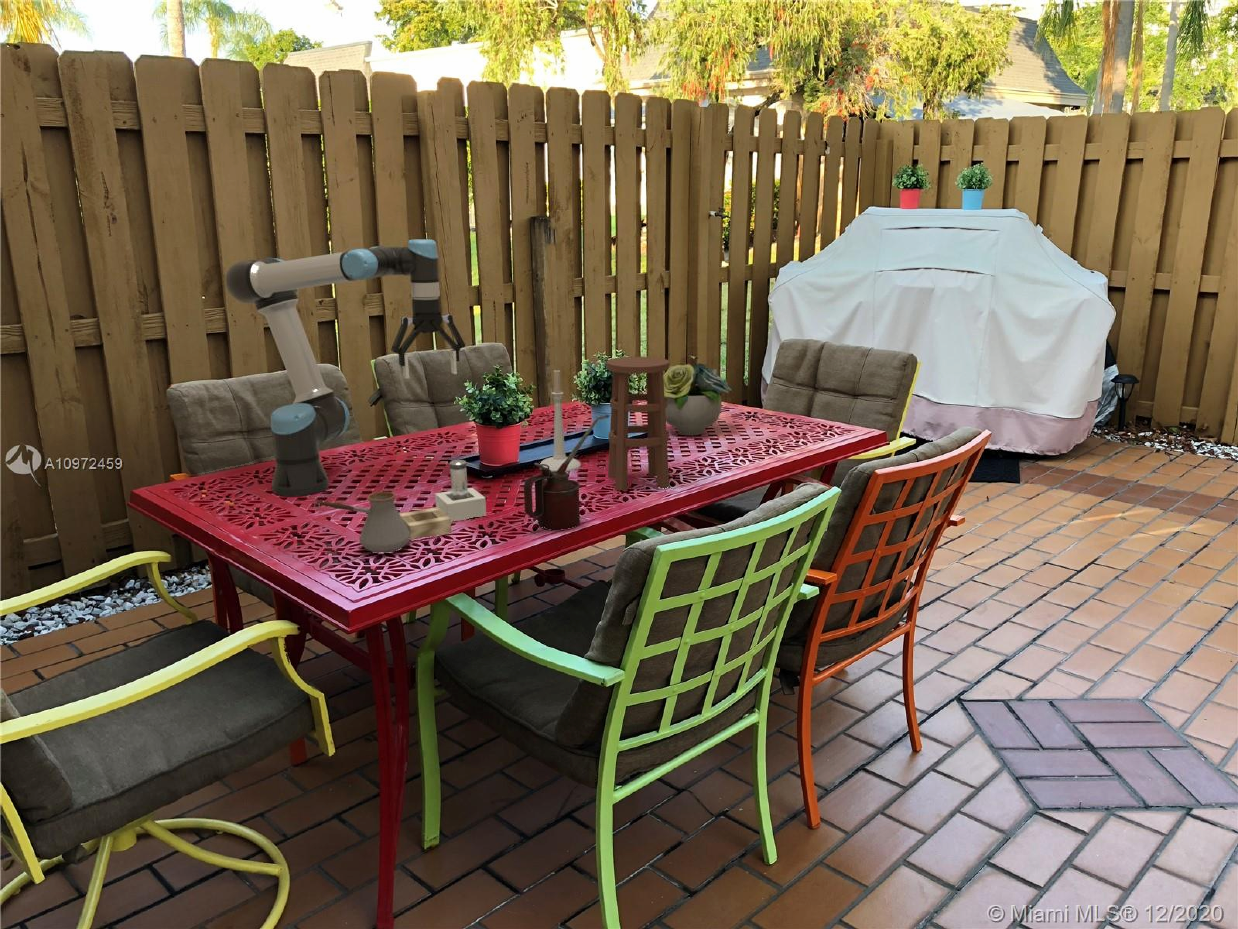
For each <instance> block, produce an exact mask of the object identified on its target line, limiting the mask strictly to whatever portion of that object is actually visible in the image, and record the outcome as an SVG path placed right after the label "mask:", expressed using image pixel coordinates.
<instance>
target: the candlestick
mask: <svg viewBox="0 0 1238 929" xmlns="http://www.w3.org/2000/svg"><path fill="white" fill-rule="evenodd" d="M561 380H562V378H561V370H558V369H556V370H553V389H554V390H553V392H551V395H553V396H552V397H553V400H554V420H553V421H554V425H553V426H554V427H553V429H554V430H553V456H551V457H547V458H544V459H543V460H542V461H540V462H541V463H540V462H539V463H540V464H546V465H548V466H549V469H550V470H551V471H552V472H553V471H557V470H558V469H559V467H560V466H561V465H562V463H564V462H565V460H566V459H567V458H568V456H567V455H566V448H565V447H566V446H565V435H564V422H563V411H562V403H561V402H562V399H563V394H564V392H563V391H562V388H561V387H562V386H561V384H562V383H561V382H562V381H561ZM581 465H582V464H581V462H580V461H579V460H578V459H576V458H574V457H573V459H572V460H571V462H570V463H569V465H568V467H567V469H566V471H565V472H567V473H568V472H572V470H573V471H576V470H579V468H581V467H582V466H581ZM580 466H581V467H580ZM543 467H546V468H548V467H547V466H543ZM575 469H576V470H575ZM539 470H541V468H539Z"/></svg>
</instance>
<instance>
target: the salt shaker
mask: <svg viewBox="0 0 1238 929" xmlns="http://www.w3.org/2000/svg"><path fill="white" fill-rule="evenodd" d="M449 468H450V469H449V470H450V471H449V472H450V481H451V482H450V483H451V491H452V501H455V500H461V499H467V498H468V489H467V488H468V477H467V476H468V475H467V461H466V460H464V459H455V460H454V459H453V460H451V461H449Z"/></svg>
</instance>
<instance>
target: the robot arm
mask: <svg viewBox="0 0 1238 929" xmlns="http://www.w3.org/2000/svg"><path fill="white" fill-rule="evenodd" d="M438 254H439V253H438V247H437V242H436V241H435V240H434V239H426V238H425V239H424V238H423V239H421V238H420V239H410V240H408V243H407V246H403V247H402V246H384V245H380V246H372V247H370V248H356V249H354V248H353V249H351V250H348V251H343V252H342V251H341V252H334V253H329V254H322V255H316V256H315V255H314V256H310V257H304V258H296V259H291V260H283V259H281V258H274V257H273V258H272V257H266V258H260V259H259V258H258V259H257V258H256V259H247V260H240V261H238V262H236V263H233V264H232V265H231V266H230V267H229V268H228V270H227V271H226V272H225V273H226V274H225V277H224V278H225V279H224V281H225V287H226V289H227V291H228V293H229V294H230V296H231V297H232V298H233V299H235V300H236V301H238V302H241V303H244V304H254V306H255V308H256V311H257V313H259V314H262V315H263V316H264V317H265V319H266V321H267V324H268V327H269V328H270V331H271V334H272V337H273V339H274V341H275V344H276V347H277V349H278V353H279V354H280V357H281V360H282V362H283V365H284V367H285V370H286V372H287V376H288V378H289V380H290V383H291V386H292V388H293V391H294V393H295V398H294V400H293V402H292V403H291V404H288V405H283V406H282V405H281V406H280V407H278V408H276V409H275V410H274V411H273V412H272V413H271V415H270V429H271V434H272V442H273V443H272V444H273V450H274V458H275V469H274V473H273V478H272V483H271V488H272V493H273V492H274V493H276V494H279V495H278V496H280V495H282V497H303V496H302V495H304V496H309V494H310V495H313V494H312V493H315V494H317V493H321V492H323V491H325V490H327V489H328V488H329V486H330V482H329V478H328V475H327V473H326V470H325V468H324V467H323V464H322V462H321V459H320V449H319V445H322V444H324V443H326V442H328V441H332V440H335V439H337V438H338V437H339V436H341V435H342V434H343V433H344V432H345V431H346V430H347V428H348V427H349V424H350V411H349V408H348V407H347V405H346V404H345V402H344V401H342V400H340V398H338V397H336V396H335V392H334V390H333V389H331V388H329V387H327V386H326V383H325V381H324V380H323V376H322V374H321V372H320V369H319V365H318V363H317V360H316V357H315V355H314V351H313V350H312V348H311V344H310V342H309V339H308V336H307V334H306V332H305V331H306V330H305V329H304V326H303V322H302V321H301V318H300V315H299V313H298V310H297V308H296V307H297V305H298V302H299V298H298V294H297V293H298V290H301V289H306V288H313V287H320V286H327V285H332V284H339V283H347V282H353V281H354V282H355V281H364V280H369V279H375V278H382V277H389V276H409V277H410V287H411V289H410V290H411V297H412V300H411V307H412V317H406V316H402V317H401V319H400V326H399V329H398V331H397V334H396V336H395V338H394V341H393V343H392V346H391V348H390V349H391V352H392V353H395V354H397V355H398V362H399V363H398V365H399V366H400V367H402V371H403V374H402V375H403V378H404V379H410V370H409V358H408V354H407V353H406V352H407V351H408V349H409V348H410V347H411V345H412V344H413V343H414V341H415V340H416V338H417V337H418V336H419V335H420V334H421V333H422V334H428V333H432V334H433V333H435V332H437V333H438V334H439V335H440V336H441V337H442V338H443V340H444V341H446V343H447V344H448V345H449V346H450V347H451V348H452V349H449V357H450V358H449V359H450V373H451V374H453V375H457V374H458V371H457V370H458V369H457V362H460V350H461V349H462V348H465V347H466V344H465V342H464V341H465V340H463V338H462V336H461V334H460V332H459V330H458V329H457V327H456V325H455V322H454V316H453V315H451V314H447V313H446V314H445V315H442V312H441V310H442V309H441V308H442V307H441V299H440V298H439V297H440V296H441V292H440V279H439V255H438ZM443 322H444V323H445V324H446V325H447V326H448V328H449V330H450V332H451V334H452V335H453V336H452V337H453V338H454V340H455V341H456V342H455V341H454V340H453V339H452V337H450V335H449V334H448V333H447V332H446V331H445V329H444V328H442V327H441V325H442V323H443ZM411 323H412V324H413V325H414V327H413V329H412V330H411V331H410V333H409V334H408V336H407V338H405V335H406V332H407V330H408V327H409V326H410V325H411ZM404 338H405V340H404V342H403V339H404ZM402 342H403V343H402ZM274 493H273V494H274ZM276 494H275V495H276Z"/></svg>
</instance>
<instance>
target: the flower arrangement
mask: <svg viewBox="0 0 1238 929" xmlns="http://www.w3.org/2000/svg"><path fill="white" fill-rule="evenodd" d="M717 371H718V370H717V369H716V368H713V369H712V370H711V369H710V368H708V367H707V364H704V363H695V362H689V363H687V364H685V363H684V365H682V364H677V365H675V366H674V365H671V366H669V369H668V370H666V372H665V373H663V378H664V396H665V398H666V399H667V408H665V415H666V424H667V423H668V425H669V426H671V427H673V428H675V429H676V430H677V432H678V433H679V434H680V435H682V436H699V435H702V434H703V432H704V430H705V429H706V428H708V427H710V426H712V425H714V424H715V423H716V422H717V421H718V419H719V417H720V414H721V412H722V403H723V402H722V401H723V400H722V393H728V394H729V392H731V391H733V389H731V387H730V386H728V382H727V381H725V380H724V379H723V378H722V377H720V376H719V375H718V374H717Z"/></svg>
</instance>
